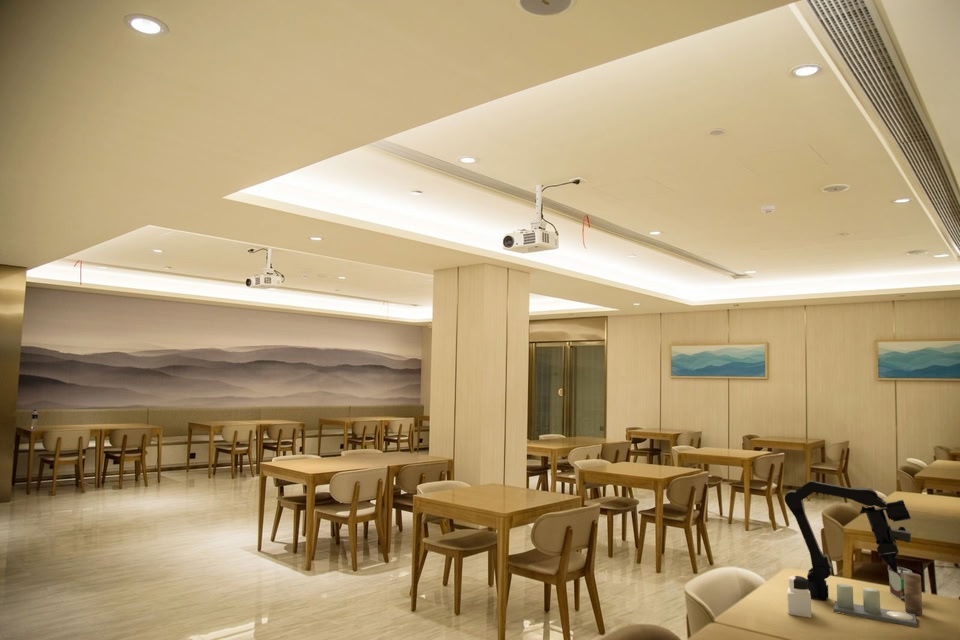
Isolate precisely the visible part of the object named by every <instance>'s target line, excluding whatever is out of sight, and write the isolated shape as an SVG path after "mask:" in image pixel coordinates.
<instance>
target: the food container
mask: <svg viewBox="0 0 960 640" xmlns="http://www.w3.org/2000/svg"><path fill="white" fill-rule="evenodd" d="M897 570H898V572H894V571H893V570H892V569H891V567H890V566H889V565H888V564H887V571H888V579H889V593H890V594H891V593H892V594H891V595H893V596H894V595H895V597H896V598H897V599H898V598H899V599H898V600H900V601H901V600H905V592H904V573H906V572H908V573H913V571H912V570H911V569H908V568H906V567H902V566H898V565H897Z"/></svg>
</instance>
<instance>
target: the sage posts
mask: <svg viewBox="0 0 960 640" xmlns="http://www.w3.org/2000/svg"><path fill="white" fill-rule="evenodd" d="M836 601H837V606H839V607H841V608H845V609H853V608H854V604H855V603H854V587H853V586H852V585H849V584H847V583H846V584H845V583H838V584H837V583H836ZM862 601H863V602H862V603H863V604H862V605H863V606H864V611H866V612H869V613H874V614H879V613H881V610H880V608H881V591H880V590H879V589H876V588H872V587H863V588H862Z"/></svg>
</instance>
